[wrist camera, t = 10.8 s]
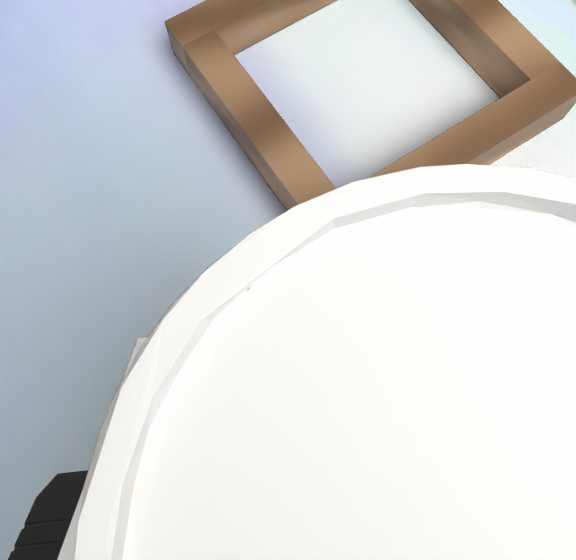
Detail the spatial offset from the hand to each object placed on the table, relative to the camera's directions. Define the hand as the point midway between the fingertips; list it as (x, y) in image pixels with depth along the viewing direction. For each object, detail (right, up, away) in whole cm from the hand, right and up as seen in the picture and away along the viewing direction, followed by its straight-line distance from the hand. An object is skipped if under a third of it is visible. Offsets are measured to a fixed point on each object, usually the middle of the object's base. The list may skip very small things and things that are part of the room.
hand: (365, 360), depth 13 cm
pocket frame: (+2, +13, +17) cm, 22 cm away
